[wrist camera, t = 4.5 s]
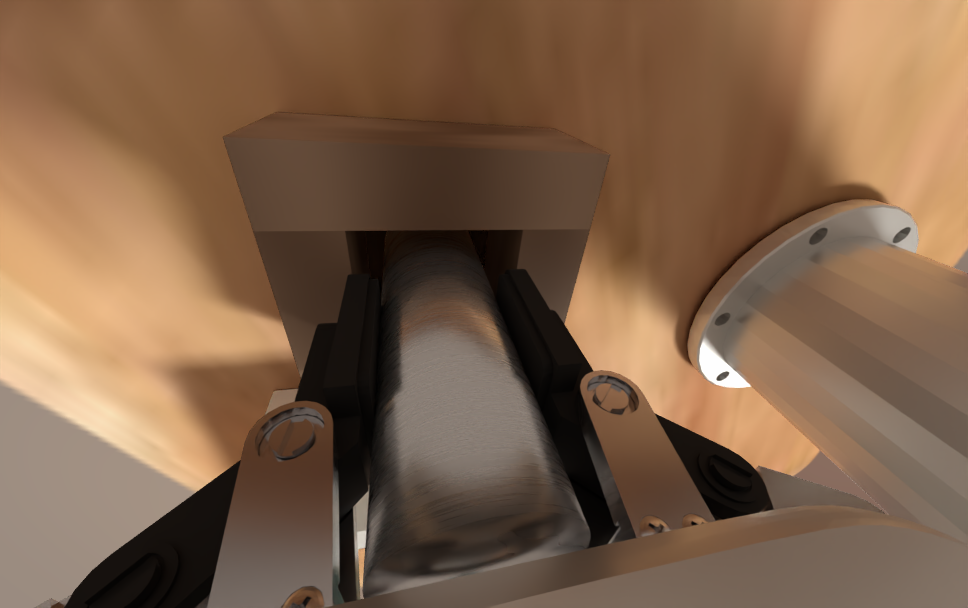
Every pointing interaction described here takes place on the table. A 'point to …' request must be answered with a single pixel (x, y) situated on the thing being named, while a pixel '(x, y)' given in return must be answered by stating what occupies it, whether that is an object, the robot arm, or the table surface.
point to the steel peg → (456, 429)
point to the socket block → (408, 201)
